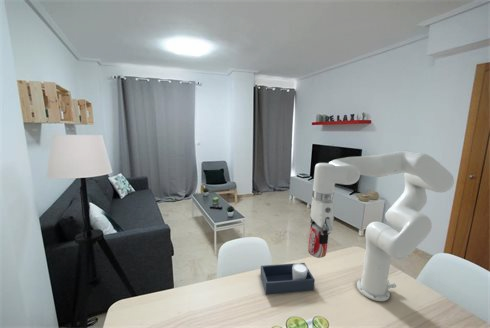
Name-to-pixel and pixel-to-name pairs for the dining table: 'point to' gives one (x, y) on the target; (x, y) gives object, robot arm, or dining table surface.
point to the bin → (284, 279)
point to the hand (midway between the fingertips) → (318, 237)
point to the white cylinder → (299, 271)
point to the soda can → (316, 242)
